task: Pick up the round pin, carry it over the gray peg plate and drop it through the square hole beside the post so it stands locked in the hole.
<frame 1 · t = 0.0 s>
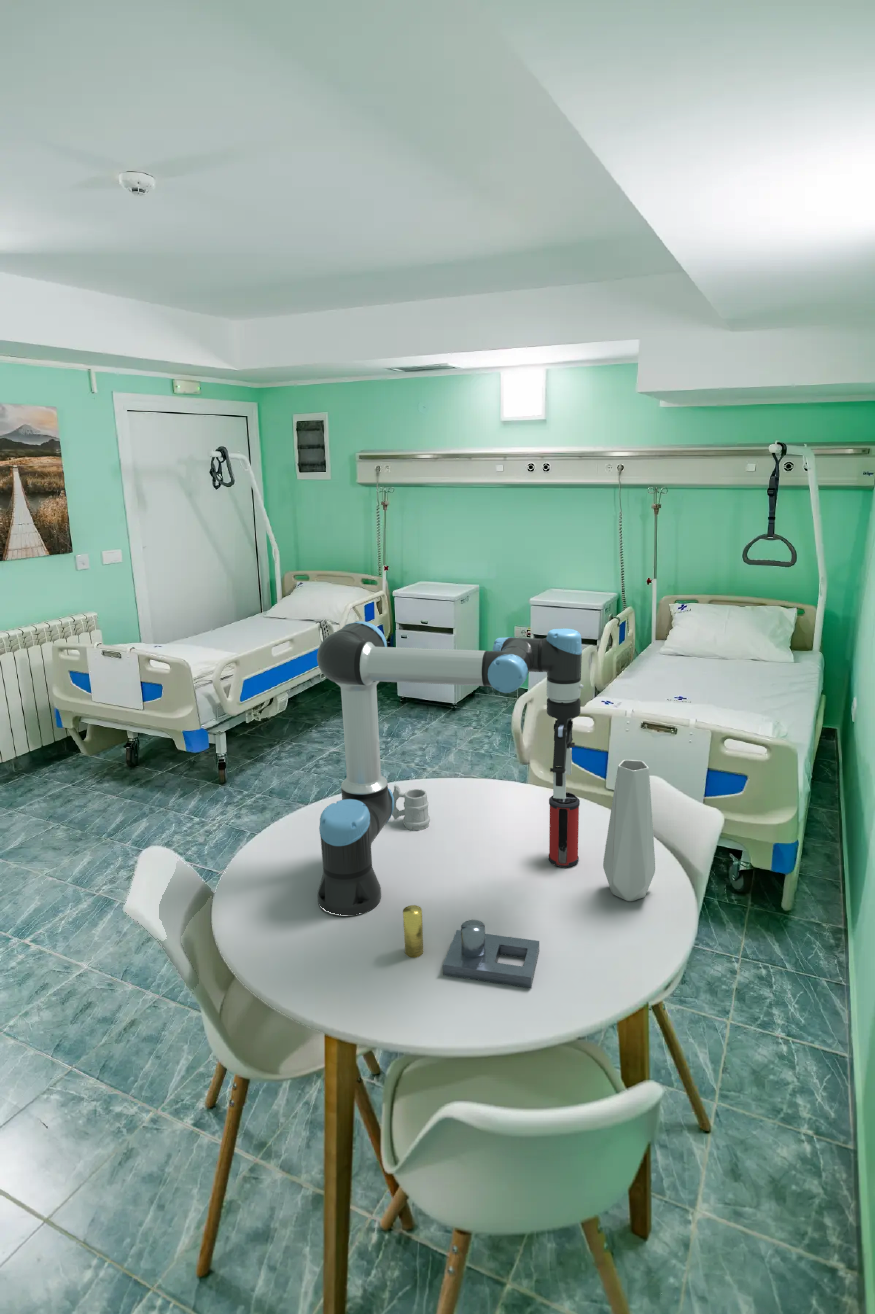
hand: (562, 785, 175), 28 cm above the table, fingers open, 13 cm apart
mug: (410, 824, 218), on the table
round pin: (414, 951, 161), on the table
speaker: (563, 861, 196), on the table
gray peg plate: (473, 960, 158), on the table
vase: (625, 892, 181), on the table
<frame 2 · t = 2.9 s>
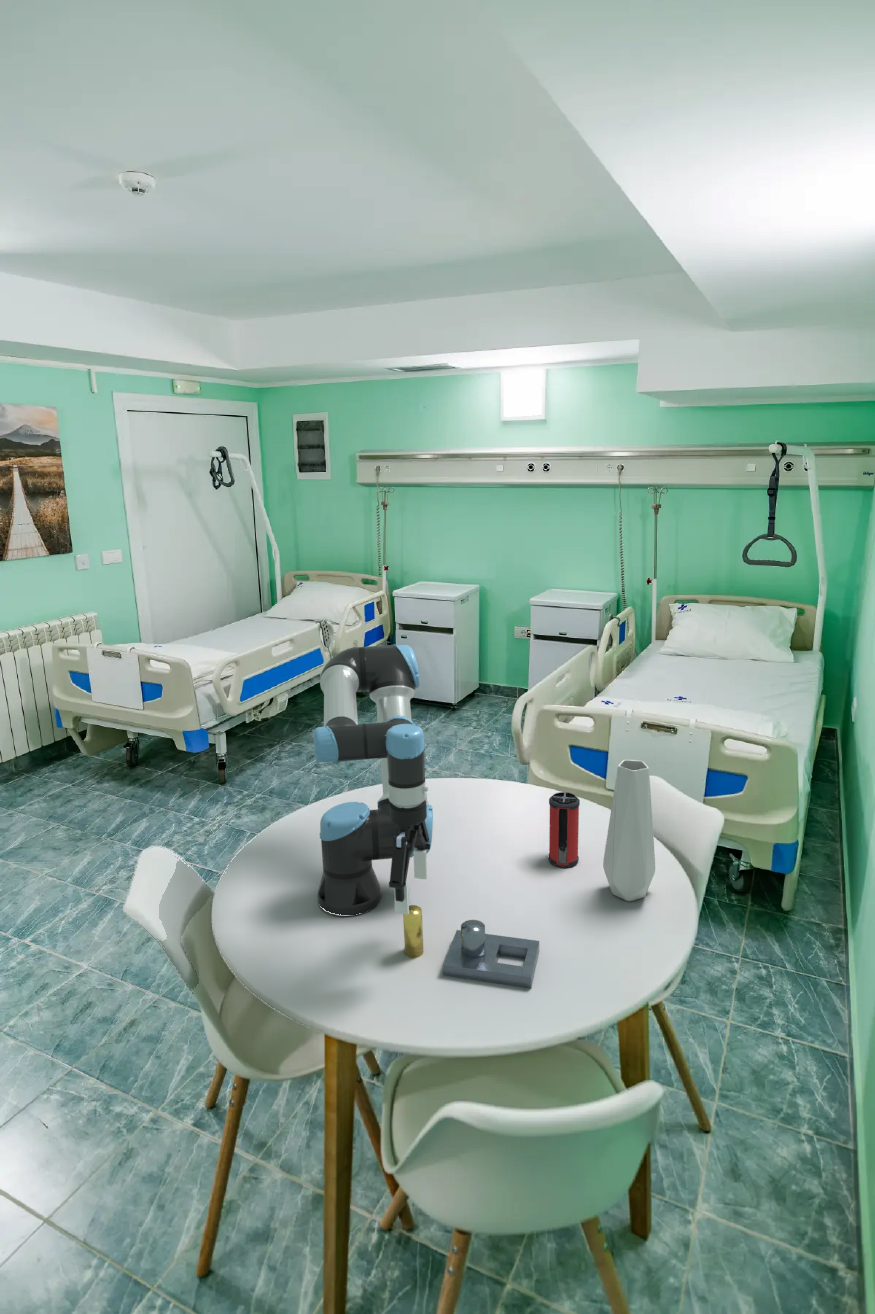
hand: (411, 894, 158), 14 cm above the table, fingers open, 13 cm apart
nothing on the table moved.
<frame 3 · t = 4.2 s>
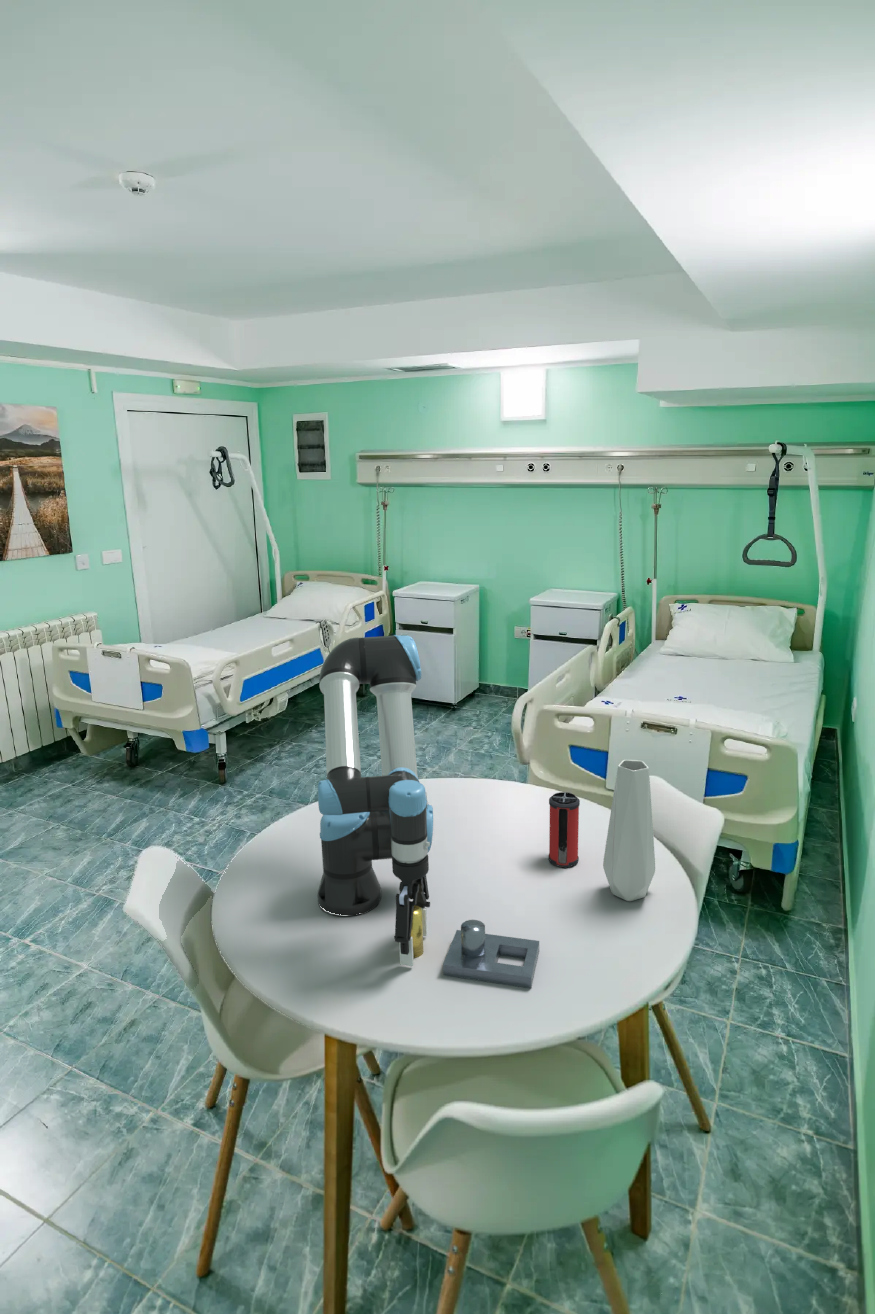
hand: (414, 949, 161), 1 cm above the table, fingers open, 10 cm apart
nothing on the table moved.
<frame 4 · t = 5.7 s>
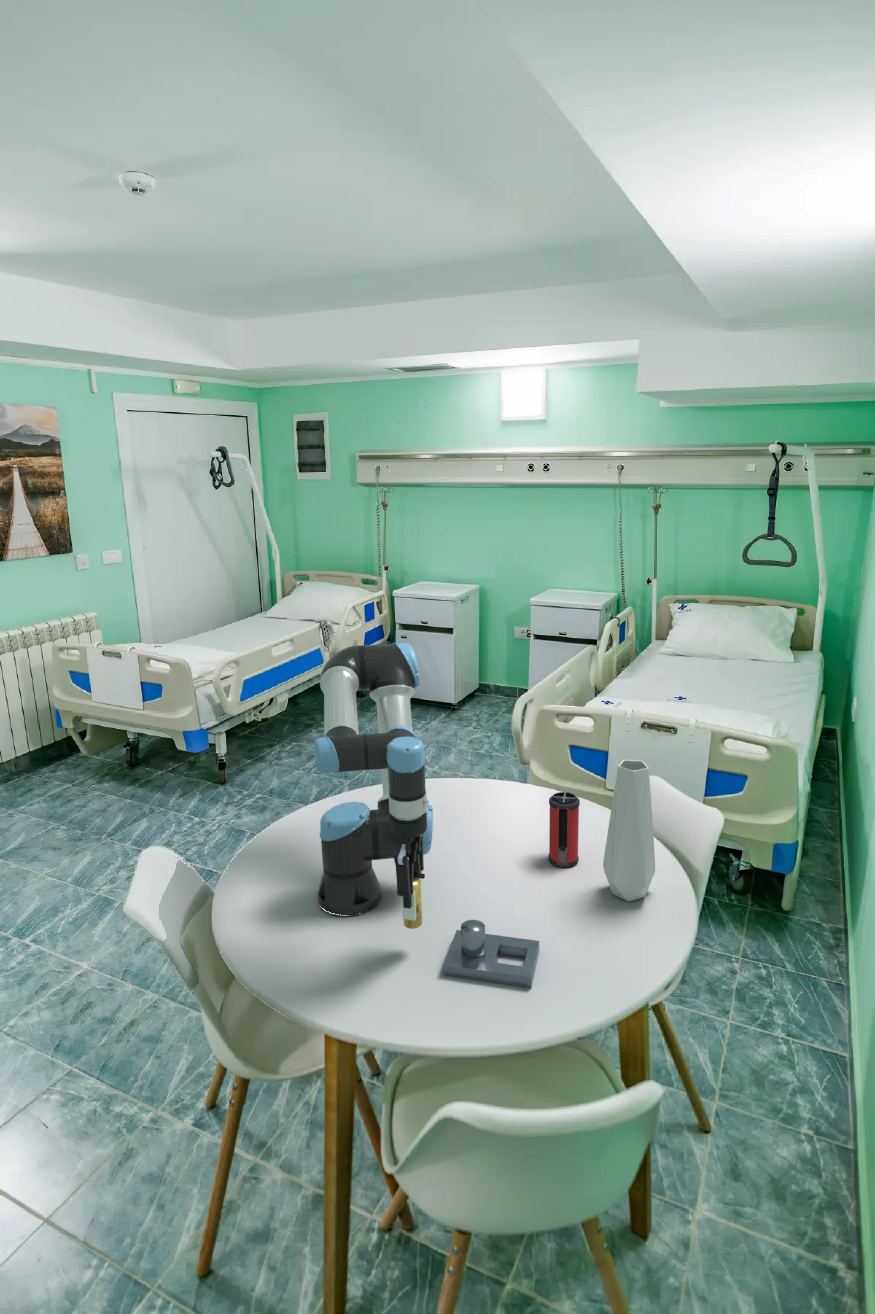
hand: (412, 912, 160), 9 cm above the table, fingers closed on round pin, 4 cm apart
round pin: (412, 922, 160), point 7 cm above the table, touching gripper
everything else where it was.
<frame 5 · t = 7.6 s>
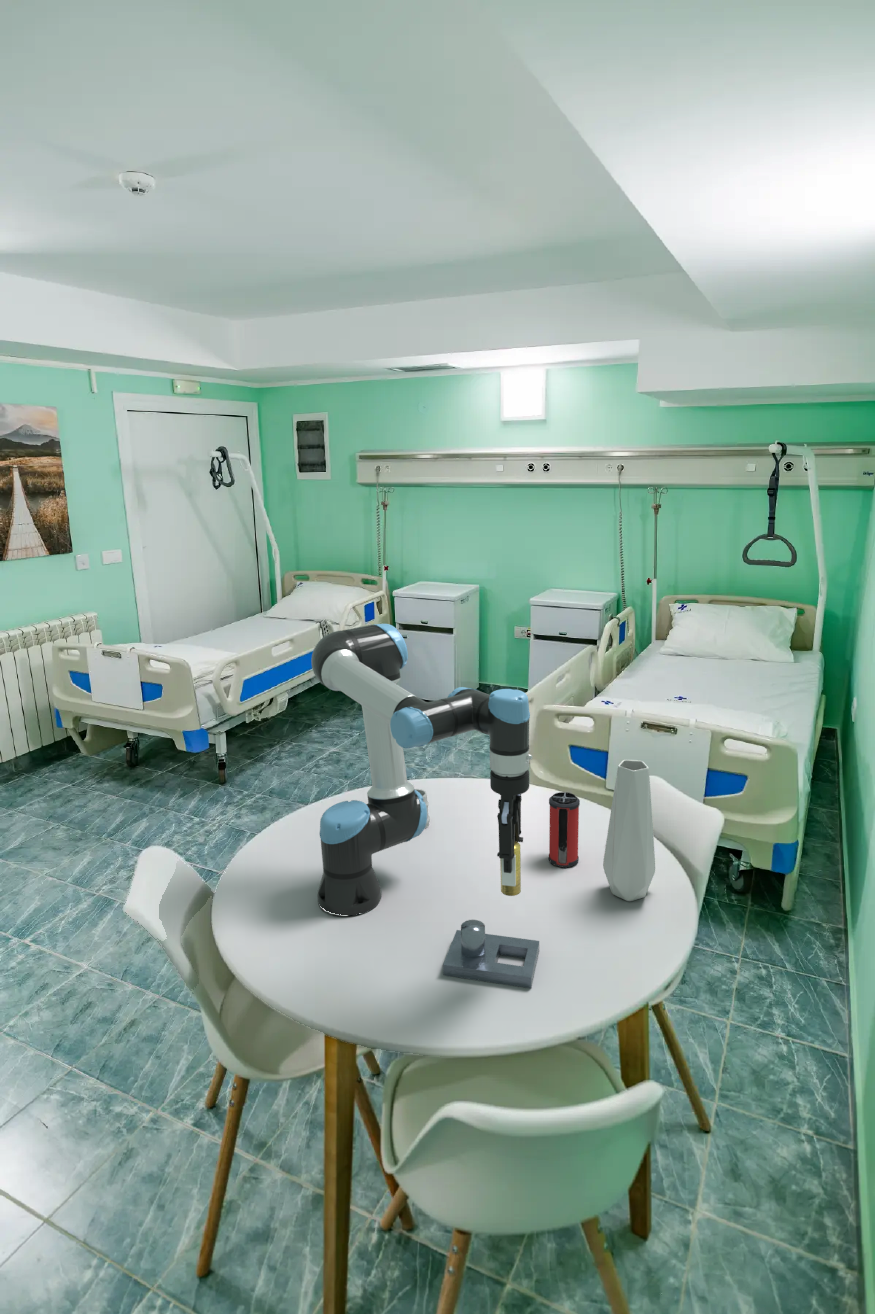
hand: (510, 878, 151), 20 cm above the table, fingers closed on round pin, 4 cm apart
round pin: (510, 890, 152), point 18 cm above the table, touching gripper
everything else where it was.
when the fingers open (4 cm above the table, at t = 9.7 s): round pin drops 1 cm, resting in gray peg plate.
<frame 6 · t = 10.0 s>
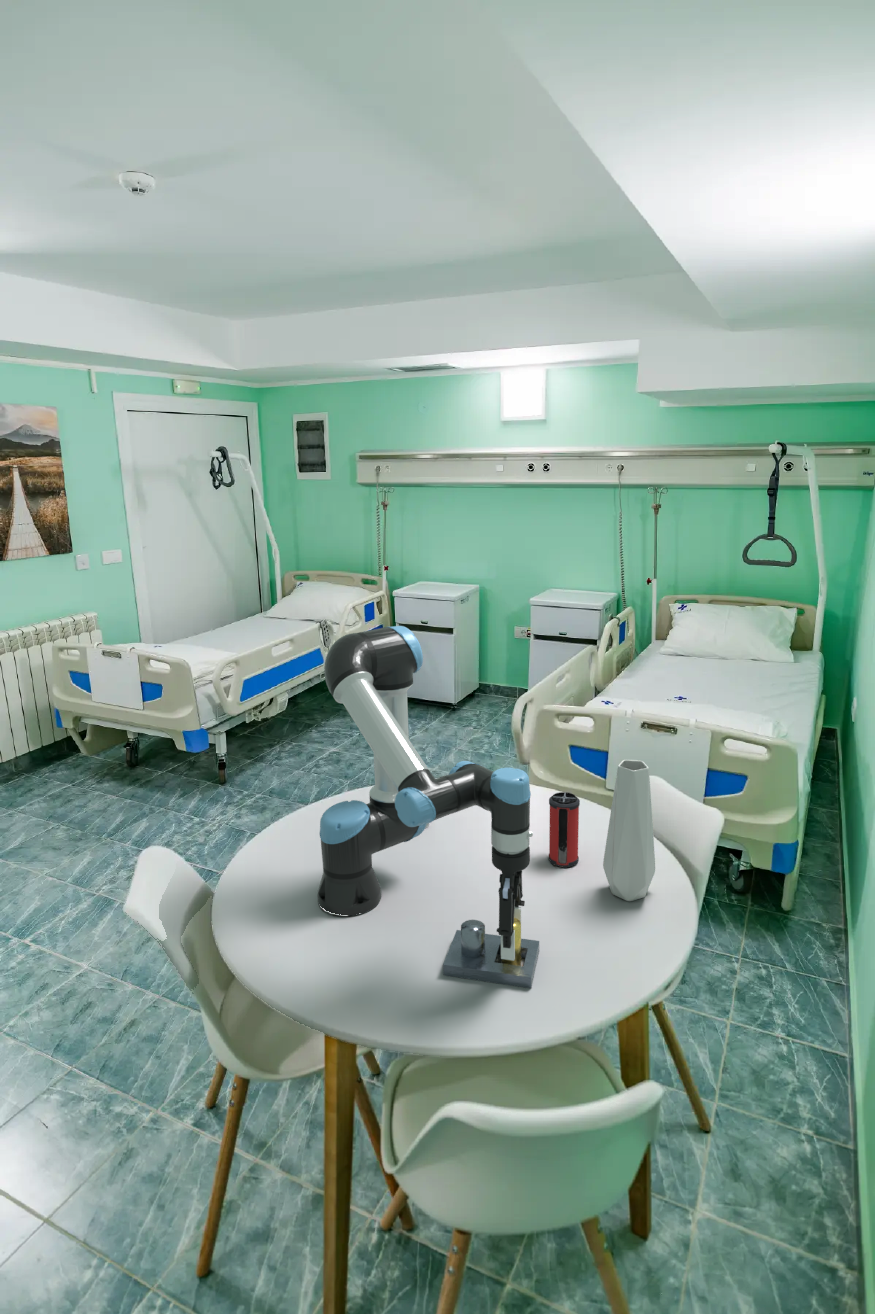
hand: (511, 946, 155), 5 cm above the table, fingers open, 7 cm apart
round pin: (511, 965, 156), resting in gray peg plate
everything else where it was.
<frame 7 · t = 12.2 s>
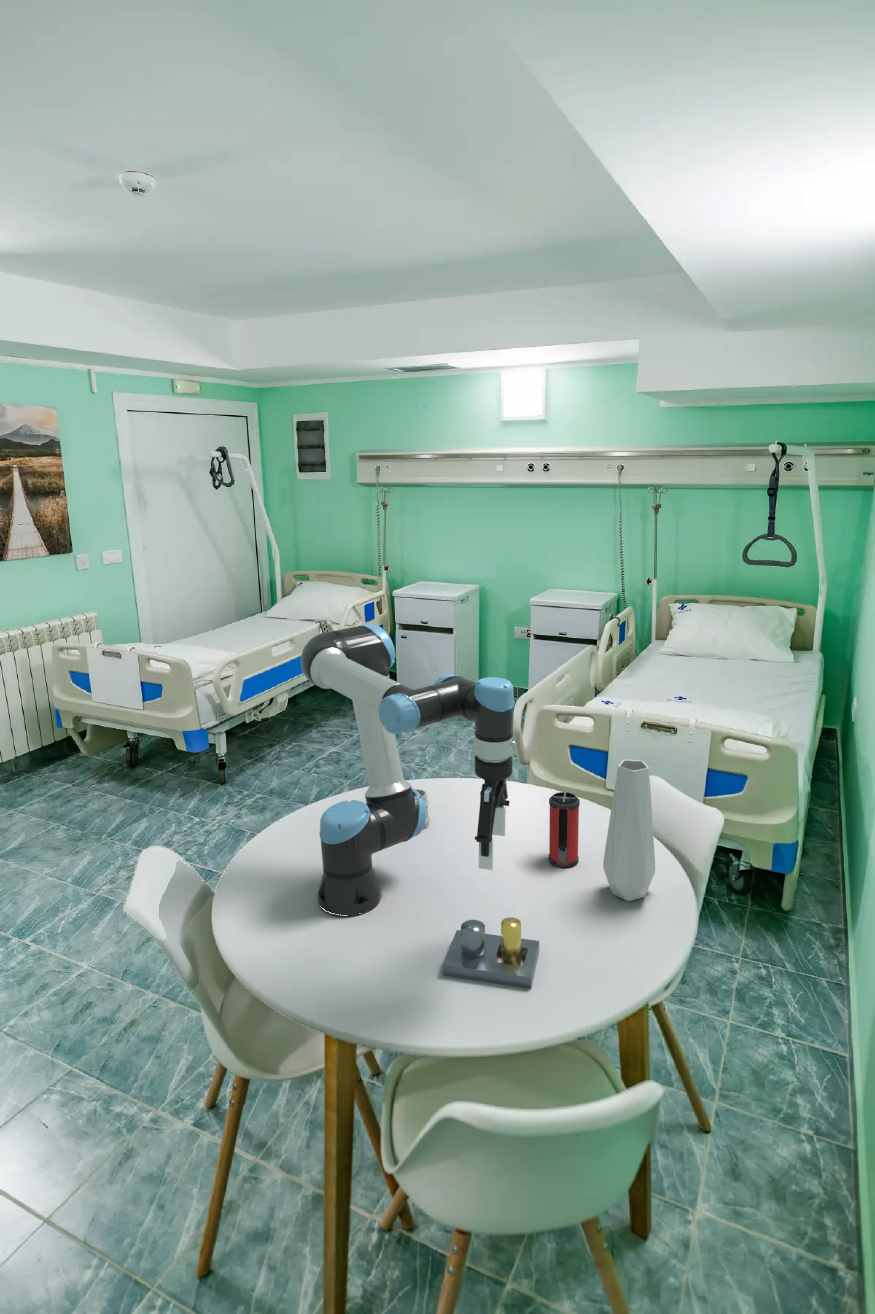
hand: (492, 850, 155), 23 cm above the table, fingers open, 13 cm apart
nothing on the table moved.
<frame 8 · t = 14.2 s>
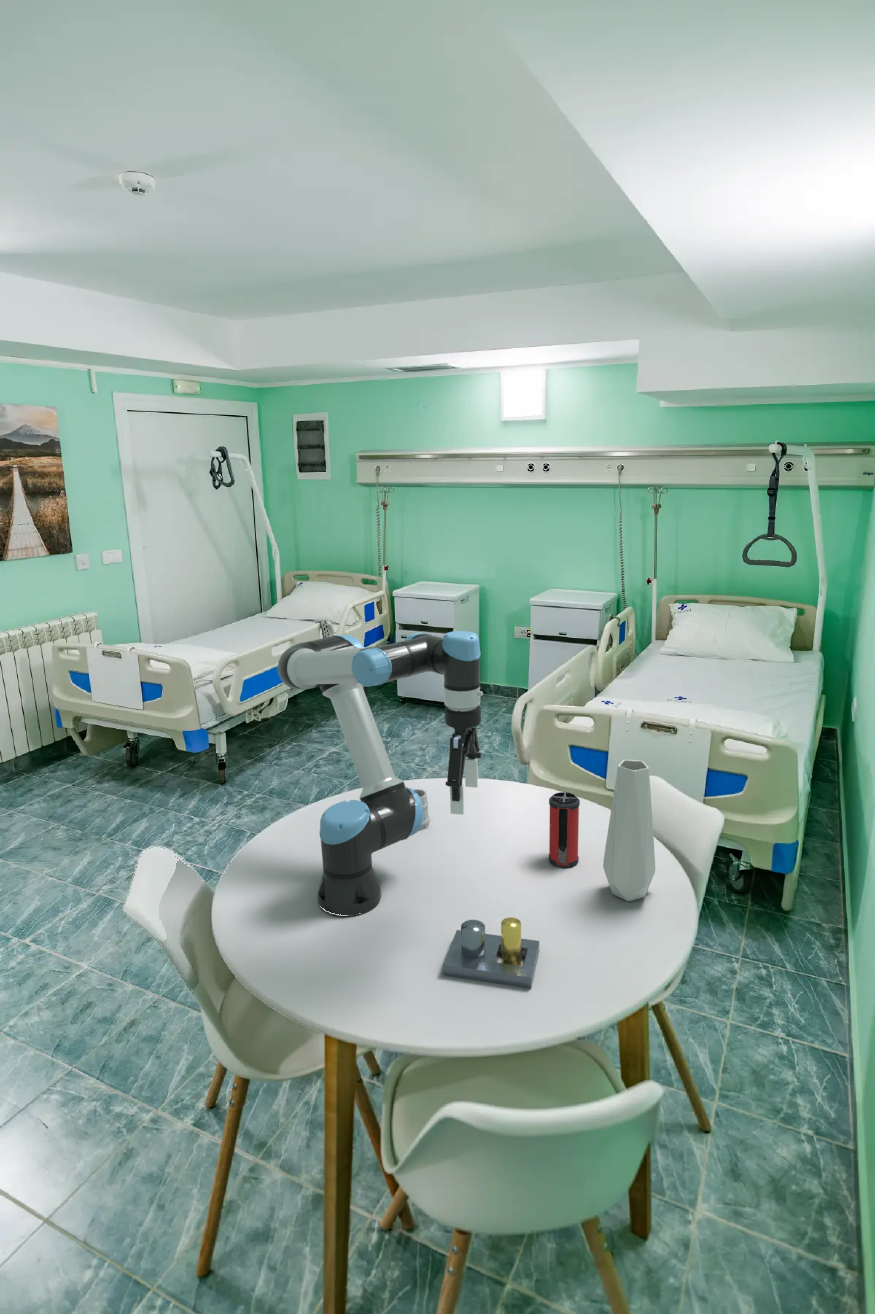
hand: (464, 799, 163), 31 cm above the table, fingers open, 13 cm apart
nothing on the table moved.
at the end: round pin 0.1 cm from the target spot on the gray peg plate, point 0.0 cm above the gray peg plate's base; round pin tilted 0°; the gripper is holding nothing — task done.
